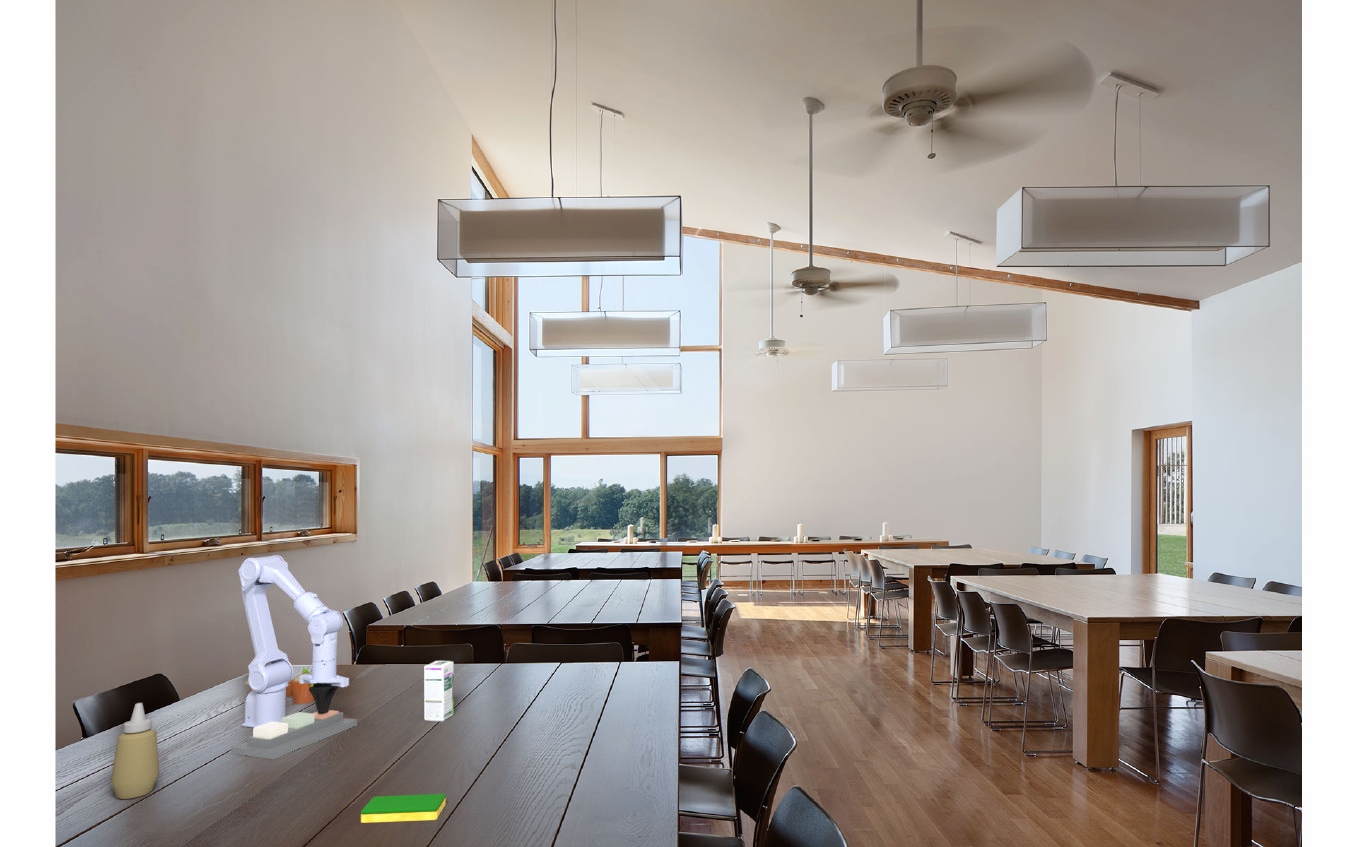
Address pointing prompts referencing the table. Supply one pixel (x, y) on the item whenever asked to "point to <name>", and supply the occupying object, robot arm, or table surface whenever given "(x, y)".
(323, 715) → the terracotta key
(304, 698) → the toy tea set
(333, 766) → the table surface
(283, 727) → the cream key
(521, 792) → the table surface
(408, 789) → the table surface
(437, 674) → the syrup box
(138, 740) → the squeeze bottle
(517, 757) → the table surface
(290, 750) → the stepped grey tray
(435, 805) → the dish sponge
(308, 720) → the sage key
